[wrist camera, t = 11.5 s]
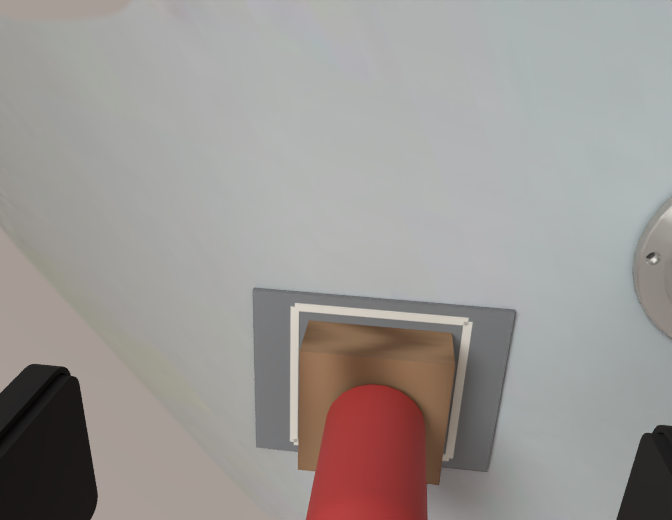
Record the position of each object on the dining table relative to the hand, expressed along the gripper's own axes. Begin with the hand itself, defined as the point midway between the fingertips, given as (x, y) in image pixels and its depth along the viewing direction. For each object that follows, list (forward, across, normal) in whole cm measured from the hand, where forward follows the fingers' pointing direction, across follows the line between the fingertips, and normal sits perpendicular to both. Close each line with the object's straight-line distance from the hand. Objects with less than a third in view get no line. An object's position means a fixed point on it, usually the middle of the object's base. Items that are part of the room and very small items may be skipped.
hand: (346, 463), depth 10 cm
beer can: (+26, 0, +20) cm, 33 cm away
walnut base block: (+30, 0, +20) cm, 36 cm away
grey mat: (+30, 0, +20) cm, 36 cm away
